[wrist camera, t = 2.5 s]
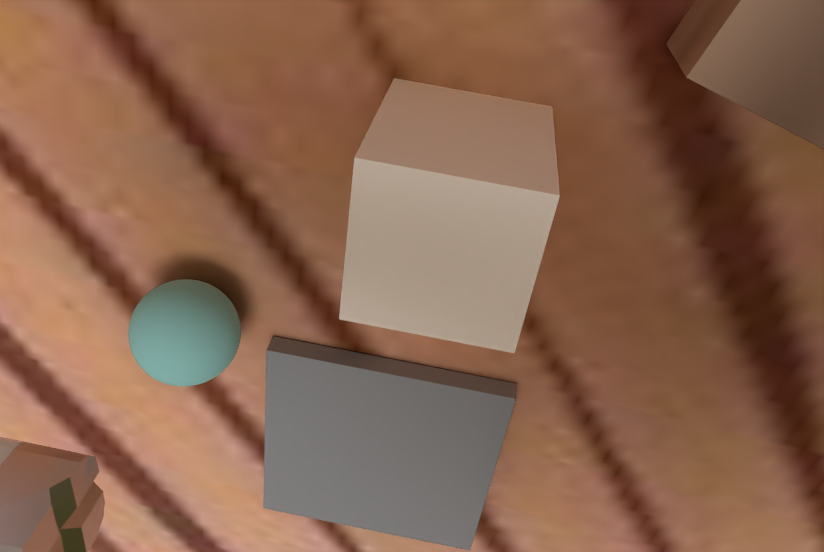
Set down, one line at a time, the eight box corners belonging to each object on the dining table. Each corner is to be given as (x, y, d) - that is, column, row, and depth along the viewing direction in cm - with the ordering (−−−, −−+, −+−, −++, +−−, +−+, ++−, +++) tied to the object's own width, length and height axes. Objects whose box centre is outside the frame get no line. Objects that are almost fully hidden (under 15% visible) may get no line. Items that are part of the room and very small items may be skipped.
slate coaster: (516, 383, 25) (516, 398, 24) (470, 534, 30) (469, 550, 30) (273, 336, 25) (266, 350, 25) (269, 493, 30) (263, 508, 30)
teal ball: (255, 269, 24) (216, 334, 21) (254, 348, 26) (219, 418, 23) (153, 250, 24) (101, 312, 21) (161, 330, 26) (114, 397, 23)
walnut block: (944, 40, 17) (1014, 78, 15) (853, 141, 19) (902, 190, 16) (741, -74, 17) (778, -54, 14) (664, 41, 18) (686, 77, 16)
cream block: (552, 105, 19) (559, 195, 15) (517, 241, 22) (514, 353, 17) (394, 77, 20) (354, 157, 15) (377, 215, 22) (338, 319, 18)
